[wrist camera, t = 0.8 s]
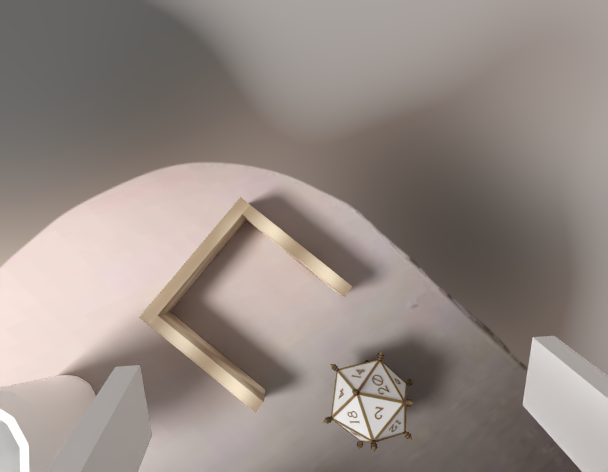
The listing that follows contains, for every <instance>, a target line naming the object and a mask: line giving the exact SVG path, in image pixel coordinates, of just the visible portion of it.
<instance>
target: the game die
mask: <svg viewBox="0 0 608 472" xmlns="http://www.w3.org/2000/svg"><path fill="white" fill-rule="evenodd" d="M383 356H384V355H383V353H382V351H381V352H380V353H378V359H377V360H373V361H368V360H367V361H366V362H365V363H361V364H357V365H353V366H349V367H345V368H341V369H338V366H336V364H335V365H334V364H331V367H332V369H333V370H335V371H336V372H337V373H336V381H335V389H334V397H333V405H332V413H331V417H327V418H325V420H324V421H323V422H324V423H329V422H331V421H332V420H333V421H335V422H336V423H337V424H339V425H340V426H341V427H342V428H344V429H345V430H346V431H348V432H349V433H350V434H352V435H353V436H354V437H355V438H357V439H358V440H359V441H358V442H357V443H358V444H357V446H358V448H359V449H360V448H362V446H363V442H372V443H371V449H372V450H373V451H374V452H375V450H376V448H377V444H376V442H378V441H381V440H384V439H388V438H391V437H394V436H397V435H401V434H404V435H405V437H406V438H407V439H412V437H411V434H409V432H406V407H407V406H411V405H412V404H413V402H412V401H411V399H410V400H407V386H408V385H412V384H413V382H414V380H410V379H409V380H407V382H405V381H403V380H402V379H401V378H400V377H399V376H398V375H397V374H396V373H395V372H393V371H392V370H391V369H390V368H389V367H388V366H387V365H386V364H385V363H383V362H382V358H383Z"/></svg>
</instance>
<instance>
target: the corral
mask: <svg viewBox="0 0 608 472" xmlns="http://www.w3.org/2000/svg"><path fill="white" fill-rule="evenodd" d="M246 220H247V221H248V222H249V223H251V224H252V225H253V226H254V227H256V228H257V229H258V230H259V231H261V232H262V233H263V234H264V235H266V236H267V237H268V238H269V239H271V240H272V241H273V242H274V243H275V244H277V245H278V246H279V247H280V248H282V249H283V250H284V251H285V252H287V253H288V254H289V255H290V256H292V257H293V258H294V259H295V260H297V261H298V262H299V263H300V264H302V265H303V266H304V267H305V268H307V269H308V270H309V271H310V272H312V273H313V274H314V275H315V276H317V277H318V278H319V279H320V280H322V281H323V282H324V283H325V284H327V285H328V286H329V287H330V288H332V289H333V290H334V291H335V292H337V293H338V294H339V295H342V296H346V294H347V293H348V292H349V290H350V289H351V288H352V286H351V285H350V284H348V283H347V282H346V281H345V280H343V279H342V278H341V277H340V276H338V275H337V274H336V273H335V272H333V271H332V270H331V269H330V268H328V267H327V266H326V265H325V264H323V263H322V262H321V261H320V260H318V259H317V258H316V257H315V256H313V255H312V254H311V253H310V252H308V251H307V250H306V249H305V248H303V247H302V246H301V245H300V244H298V243H297V242H296V241H295V240H293V239H292V238H291V237H290V236H288V235H287V234H286V233H285V232H283V231H282V230H281V229H280V228H278V227H277V226H276V225H275V224H273V223H272V222H271V221H270V220H268V219H267V218H266V217H265V216H263V215H262V214H261V213H260V212H258V211H257V210H256V209H255V208H253V207H252V206H251V205H250V204H248V203H247V202H246V201H245V200H243V199H242V198H241V197H240V198H239V200H238V201H237V202H236V203H235V204H234V206H233V207H232V208H231V209H230V210H229V212H228V213H227V214H226V215H225V216H224V218H223V219H222V220H221V221H220V222H219V223H218V225H217V226H216V227H215V228H214V229H213V231H212V232H211V233H210V234H209V235H208V237H207V238H206V239H205V240H204V241H203V242H202V244H201V245H200V246H199V247H198V248H197V250H196V251H195V252H194V253H193V254H192V256H191V257H190V258H189V259H188V260H187V261H186V263H185V264H184V265H183V266H182V267H181V269H180V270H179V271H178V272H177V273H176V275H175V276H174V277H173V278H172V279H171V280H170V282H169V283H168V284H167V285H166V286H165V288H164V289H163V290H162V291H161V292H160V294H159V295H158V296H157V297H156V298H155V299H154V301H153V302H152V303H151V304H150V305H149V307H148V308H147V309H146V310H145V311H144V313H143V314H142V315H141V316H140V317H139V318H141V319H142V320H143V321H144V322H146V323H147V324H148V325H149V326H150V327H152V328H153V329H154V330H155V331H157V332H158V333H159V334H160V335H161V336H163V337H164V338H165V339H166V340H168V341H169V342H170V343H171V344H172V345H174V346H175V347H176V348H177V349H179V350H180V351H181V352H182V353H183V354H185V355H186V356H187V357H188V358H190V359H191V360H192V361H193V362H194V363H196V364H197V365H198V366H199V367H201V368H202V369H203V370H204V371H205V372H207V373H208V374H209V375H210V376H212V377H213V378H214V379H215V380H216V381H218V382H219V383H220V384H221V385H223V386H224V387H225V388H226V389H227V390H229V391H230V392H231V393H232V394H234V395H235V396H236V397H237V398H238V399H240V400H241V401H242V402H243V403H245V404H246V405H247V406H248V407H249V408H251V409H252V410H253V411H254V412H256V411H257V410H258V409H259V407H260V406H261V405H262V403H263V402H264V397H265V389H264V388H263V387H262V386H260V385H259V384H258V383H257V382H255V381H254V380H253V379H252V378H250V377H249V376H248V375H247V374H246V373H244V372H243V371H242V370H241V369H239V368H238V367H237V366H236V365H235V364H233V363H232V362H231V361H230V360H228V359H227V358H226V357H225V356H223V355H222V354H221V353H220V352H219V351H217V350H216V349H215V348H214V347H212V346H211V345H210V344H209V343H208V342H206V341H205V340H204V339H203V338H201V337H200V336H199V335H198V334H197V333H195V332H194V331H193V330H192V329H190V328H189V327H188V326H187V325H185V324H184V323H183V322H182V321H181V320H179V319H178V318H177V317H176V316H174V315H173V314H172V313H171V312H170V311H171V310H172V308H173V307H174V306H175V305H176V304H177V302H178V301H179V300H180V299H181V298H182V296H183V295H184V294H185V293H186V292H187V290H188V289H189V288H190V287H191V286H192V284H193V283H194V282H195V281H196V280H197V278H198V277H199V276H200V275H201V274H202V272H203V271H204V270H205V269H206V268H207V266H208V265H209V264H210V263H211V262H212V260H213V259H214V258H215V257H216V256H217V254H218V253H219V252H220V251H221V250H222V248H223V247H224V246H225V245H226V244H227V242H228V241H229V240H230V239H231V238H232V236H233V235H234V234H235V233H236V231H237V230H238V229H239V228H240V227H241V225H242V224H243V223H244V222H245V221H246Z"/></svg>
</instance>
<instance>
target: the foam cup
mask: <svg viewBox="0 0 608 472" xmlns="http://www.w3.org/2000/svg"><path fill="white" fill-rule="evenodd" d="M95 397H96V394H95V393H94V391H93V389H92V387H91V386H90V384H89V383H88V382H86V381H85V380H83V379H82V378H80V377H78V376H72V375H59V376H54V377H50V378H45V379H40V380H35V381H30V382H25V383H20V384H15V385H11V386H6V387H1V388H0V472H47V470H48V469H49V467H50V466H51V464H52V463H53V461H54V460H55V458H56V457H57V455H58V454H59V452H60V451H61V449H62V447H63V446H64V444H65V443H66V441H67V440H68V438H69V437H70V435H71V434H72V432H73V431H74V429H75V428H76V426H77V425H78V423H79V422H80V420H81V418H82V417H83V415H84V414H85V412H86V411H87V409H88V408H89V406H90V405H91V403H92V402H93V400H94V399H95Z"/></svg>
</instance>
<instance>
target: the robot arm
mask: <svg viewBox="0 0 608 472" xmlns="http://www.w3.org/2000/svg"><path fill="white" fill-rule="evenodd" d="M523 406H524V407H525V408H526V409H527V410H528V412H529V413H530V414H531V415H532V416H533V417H534V418H535V419H536V421H537V422H538V423H539V424H540V425H541V426H542V427H543V428H544V430H545V431H546V432H547V433H548V434H549V435H550V436H551V437H552V438H553V440H554V441H555V442H556V443H557V444H558V445H559V446H560V447H561V449H562V450H563V451H564V452H565V453H566V454H567V455H568V456H569V458H570V459H571V460H572V461H573V462H574V463H575V464H576V465H577V466H578V468H579V469H580V470H581V471H582V472H608V376H607V375H606V374H604V373H603V372H602V371H600V370H599V369H598V368H596V367H595V366H594V365H592V364H591V363H590V362H588V361H587V360H586V359H584V358H583V357H582V356H580V355H579V354H578V353H576V352H575V351H574V350H572V349H571V348H570V347H568V346H567V345H566V344H564V343H563V342H562V341H560V340H559V339H558V338H556V337H555V336H545V337H533V339H532V346H531V353H530V359H529V366H528V372H527V379H526V386H525V393H524V399H523ZM151 437H152V432H151V426H150V420H149V415H148V409H147V403H146V397H145V391H144V385H143V379H142V373H141V368H140V365H132V366H117V367H115V368H114V370H113V371H112V373H111V374H110V376H109V377H108V379H107V380H106V382H105V383H104V385H103V386H102V388H101V389H100V391H99V393H98V394H97V396H96V397H95V399H94V400H93V402H92V403H91V405H90V406H89V408H88V409H87V411H86V412H85V414H84V415H83V417H82V418H81V420H80V422H79V423H78V425H77V426H76V428H75V429H74V431H73V432H72V434H71V435H70V437H69V438H68V440H67V441H66V443H65V444H64V446H63V447H62V449H61V451H60V452H59V454H58V455H57V457H56V458H55V460H54V461H53V463H52V464H51V466H50V467H49V469H48V470H47V472H138V470H139V467H140V465H141V462H142V460H143V457H144V455H145V452H146V449H147V447H148V444H149V442H150V439H151Z"/></svg>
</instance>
